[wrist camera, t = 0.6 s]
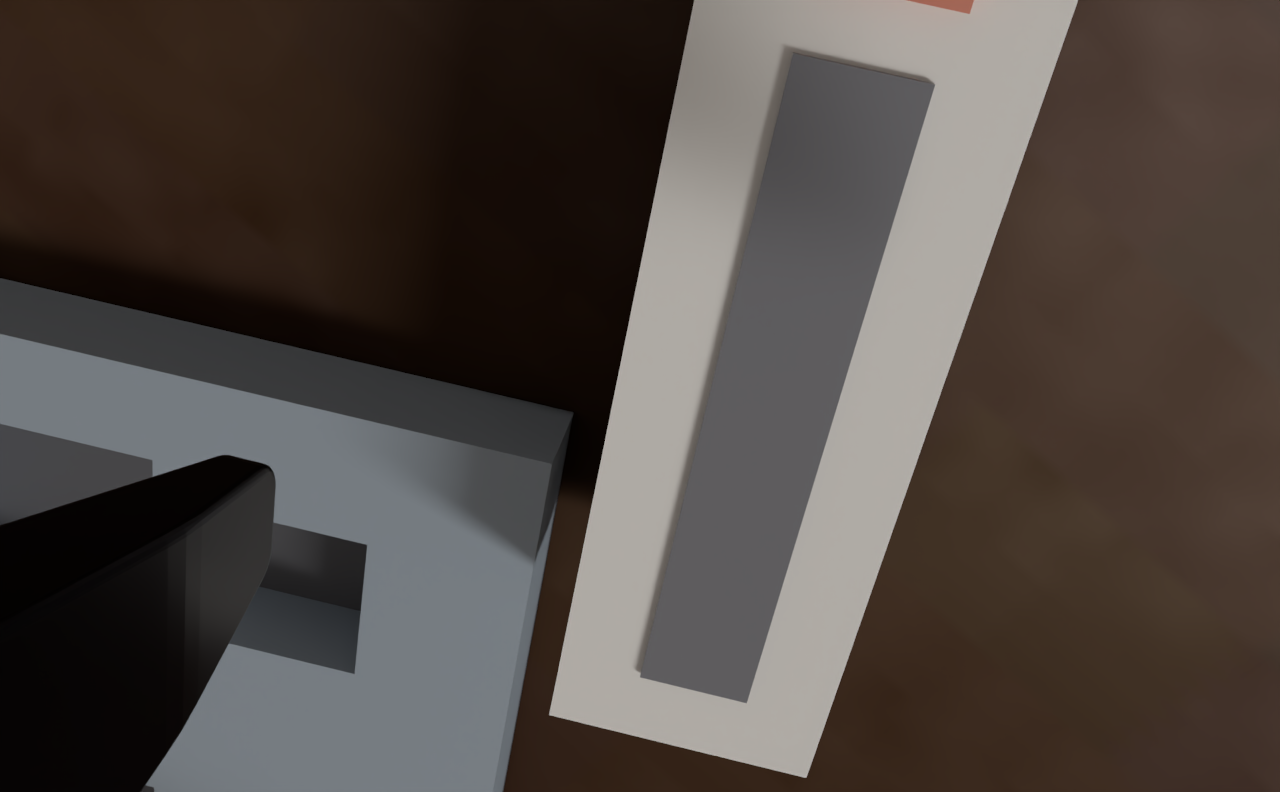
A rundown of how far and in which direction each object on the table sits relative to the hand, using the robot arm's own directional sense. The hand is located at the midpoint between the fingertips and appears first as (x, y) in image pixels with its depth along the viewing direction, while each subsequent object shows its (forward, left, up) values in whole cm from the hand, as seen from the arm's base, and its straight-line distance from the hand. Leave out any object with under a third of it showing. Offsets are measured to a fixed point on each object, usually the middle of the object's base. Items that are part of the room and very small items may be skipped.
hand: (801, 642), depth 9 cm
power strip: (0, 0, -11) cm, 11 cm away
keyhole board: (-12, +10, -11) cm, 19 cm away
